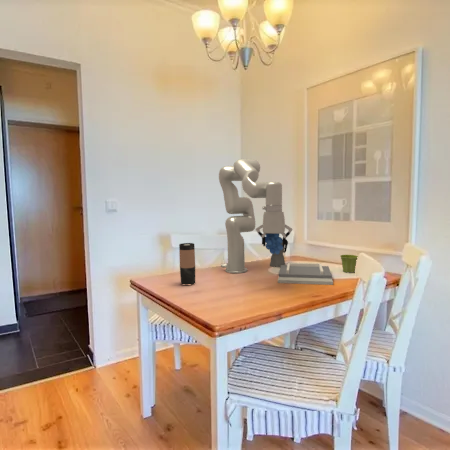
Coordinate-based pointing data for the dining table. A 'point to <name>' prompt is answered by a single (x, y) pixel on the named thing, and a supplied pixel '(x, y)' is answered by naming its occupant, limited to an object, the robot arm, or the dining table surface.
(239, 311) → the dining table surface
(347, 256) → the plant pot
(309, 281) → the dock
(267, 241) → the grapes
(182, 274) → the travel mug
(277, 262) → the coffeepot
